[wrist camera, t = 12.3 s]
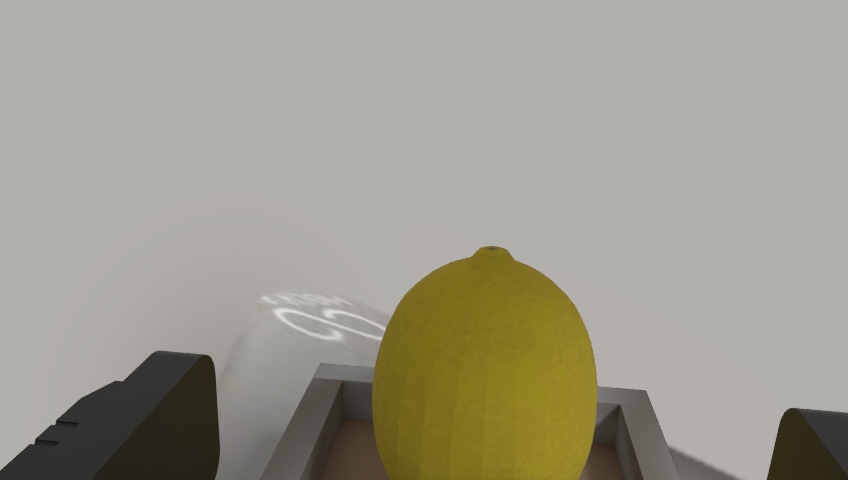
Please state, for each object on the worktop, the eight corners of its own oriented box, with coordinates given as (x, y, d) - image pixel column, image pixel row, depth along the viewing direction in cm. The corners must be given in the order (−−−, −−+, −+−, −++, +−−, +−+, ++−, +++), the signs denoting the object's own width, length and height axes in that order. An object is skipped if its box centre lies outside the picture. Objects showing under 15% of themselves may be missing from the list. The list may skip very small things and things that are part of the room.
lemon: (560, 470, 21) (589, 218, 19) (598, 621, 16) (645, 300, 13) (379, 461, 21) (384, 210, 19) (358, 609, 16) (360, 288, 14)
